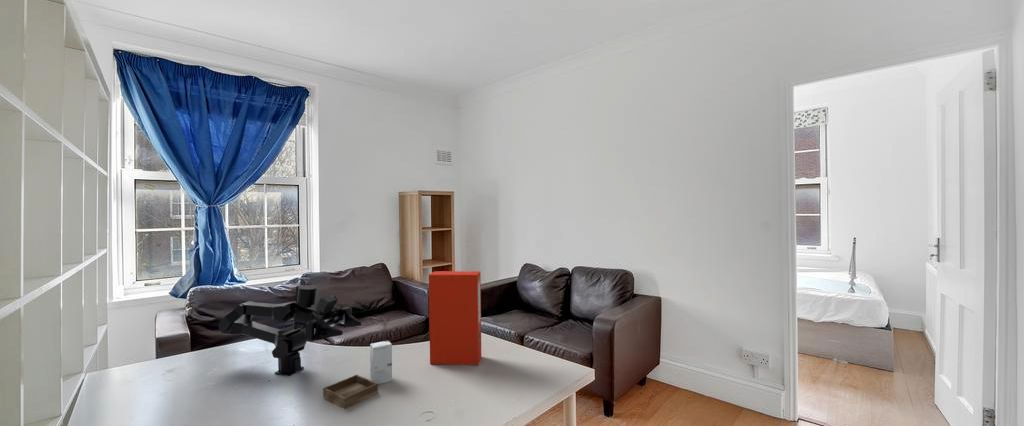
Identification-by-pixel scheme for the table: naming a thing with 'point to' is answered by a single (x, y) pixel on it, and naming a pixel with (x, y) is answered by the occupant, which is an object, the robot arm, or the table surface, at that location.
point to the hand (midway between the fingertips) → (351, 328)
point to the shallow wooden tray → (350, 391)
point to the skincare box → (381, 362)
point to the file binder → (455, 317)
